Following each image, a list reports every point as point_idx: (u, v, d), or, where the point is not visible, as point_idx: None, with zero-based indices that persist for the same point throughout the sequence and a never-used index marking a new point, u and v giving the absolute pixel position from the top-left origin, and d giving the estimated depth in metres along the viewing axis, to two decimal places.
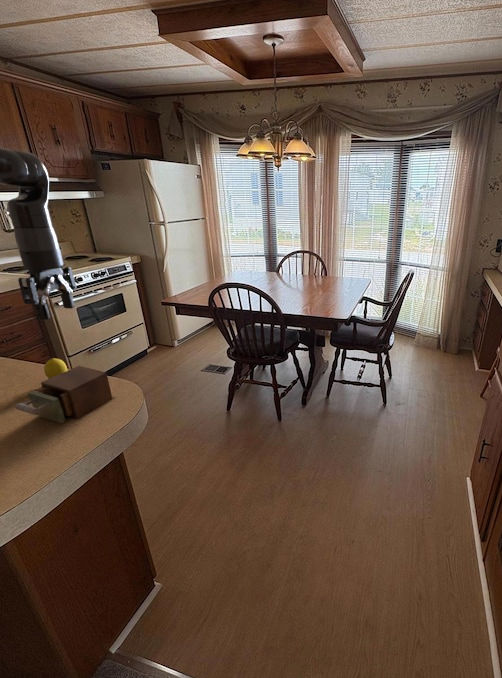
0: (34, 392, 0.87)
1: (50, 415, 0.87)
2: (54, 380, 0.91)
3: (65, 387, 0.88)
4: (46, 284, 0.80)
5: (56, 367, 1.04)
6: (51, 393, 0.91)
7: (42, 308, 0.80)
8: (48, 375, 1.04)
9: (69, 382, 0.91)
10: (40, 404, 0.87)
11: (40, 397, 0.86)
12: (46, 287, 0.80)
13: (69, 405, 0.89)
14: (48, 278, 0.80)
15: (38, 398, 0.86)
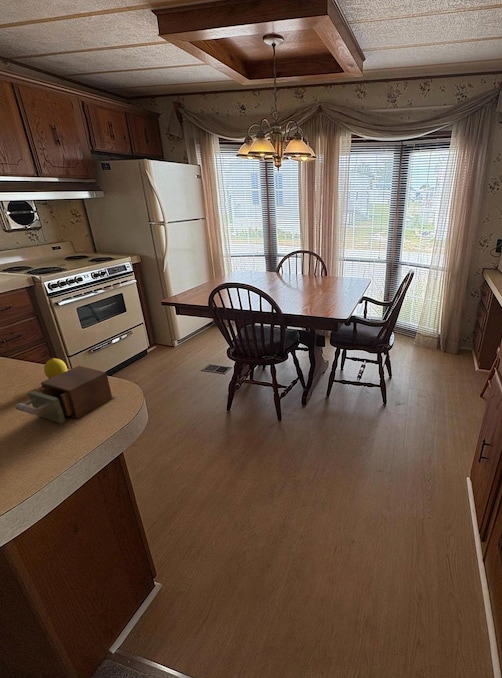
0: (34, 392, 0.87)
1: (50, 415, 0.87)
2: (54, 380, 0.91)
3: (65, 387, 0.88)
4: None
5: (56, 367, 1.04)
6: (51, 393, 0.91)
7: None
8: (48, 375, 1.04)
9: (69, 382, 0.91)
10: (40, 404, 0.87)
11: (40, 397, 0.86)
12: None
13: (69, 405, 0.89)
14: None
15: (38, 398, 0.86)
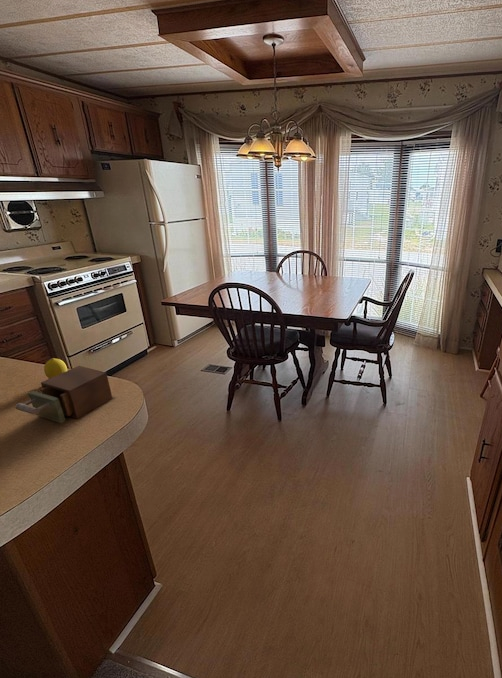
0: (34, 392, 0.87)
1: (50, 415, 0.87)
2: (54, 380, 0.91)
3: (65, 387, 0.88)
4: None
5: (56, 367, 1.04)
6: (51, 393, 0.91)
7: None
8: (48, 375, 1.04)
9: (69, 382, 0.91)
10: (40, 404, 0.87)
11: (40, 397, 0.86)
12: None
13: (69, 405, 0.89)
14: None
15: (38, 398, 0.86)
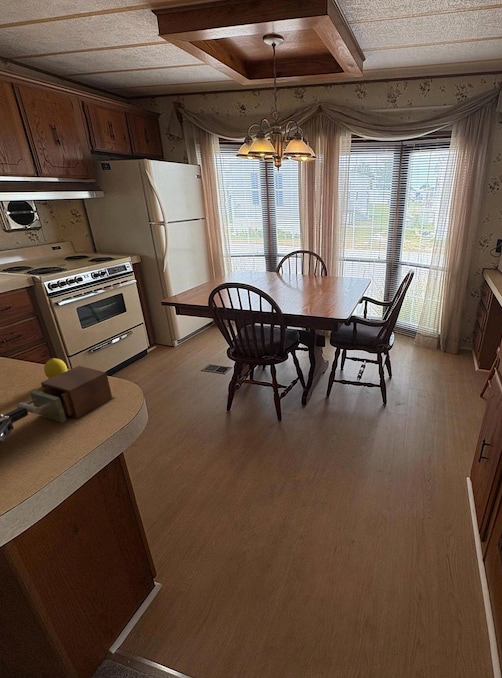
0: (35, 391, 0.88)
1: (51, 414, 0.88)
2: (54, 380, 0.91)
3: (65, 387, 0.88)
4: None
5: (56, 367, 1.04)
6: (52, 392, 0.92)
7: (13, 415, 0.80)
8: (48, 375, 1.04)
9: (69, 382, 0.91)
10: (41, 403, 0.87)
11: (41, 396, 0.86)
12: None
13: (70, 404, 0.89)
14: None
15: (39, 398, 0.87)
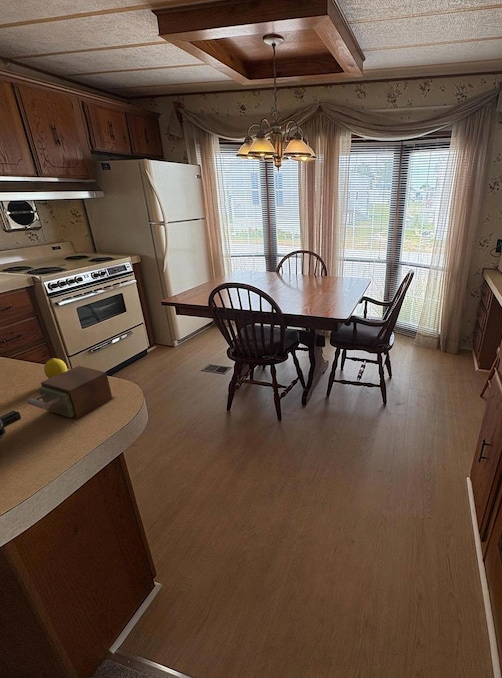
0: (44, 387, 0.90)
1: (59, 409, 0.90)
2: (54, 380, 0.91)
3: (65, 387, 0.88)
4: None
5: (56, 367, 1.04)
6: None
7: (6, 419, 0.78)
8: (48, 375, 1.04)
9: (69, 382, 0.91)
10: (50, 399, 0.89)
11: (50, 392, 0.88)
12: None
13: None
14: None
15: (48, 393, 0.89)
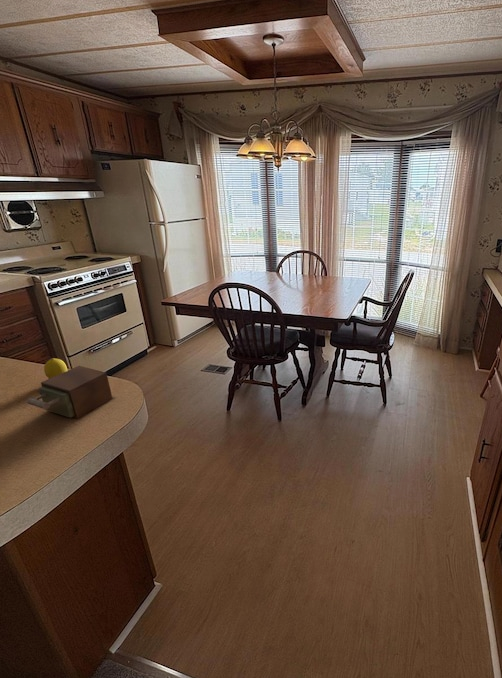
0: (44, 387, 0.90)
1: (59, 409, 0.90)
2: (54, 380, 0.91)
3: (65, 387, 0.88)
4: None
5: (56, 367, 1.04)
6: None
7: None
8: (48, 375, 1.04)
9: (69, 382, 0.91)
10: (50, 399, 0.89)
11: (50, 392, 0.88)
12: None
13: None
14: None
15: (48, 393, 0.89)
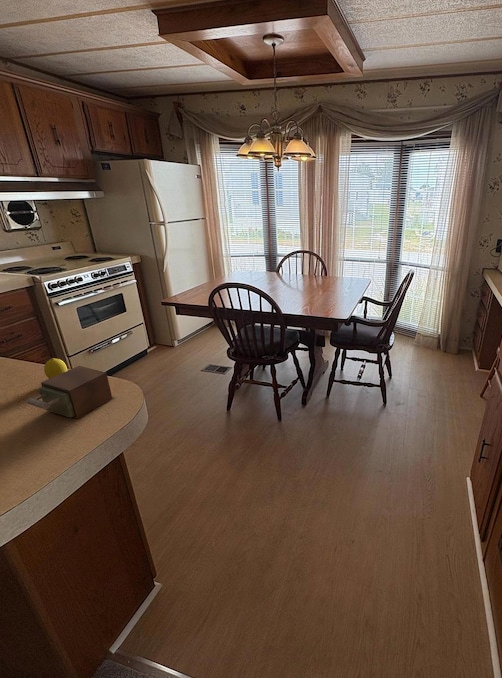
0: (44, 387, 0.90)
1: (59, 409, 0.90)
2: (54, 380, 0.91)
3: (65, 387, 0.88)
4: None
5: (56, 367, 1.04)
6: None
7: None
8: (48, 375, 1.04)
9: (69, 382, 0.91)
10: (50, 399, 0.89)
11: (50, 392, 0.88)
12: None
13: None
14: None
15: (48, 393, 0.89)
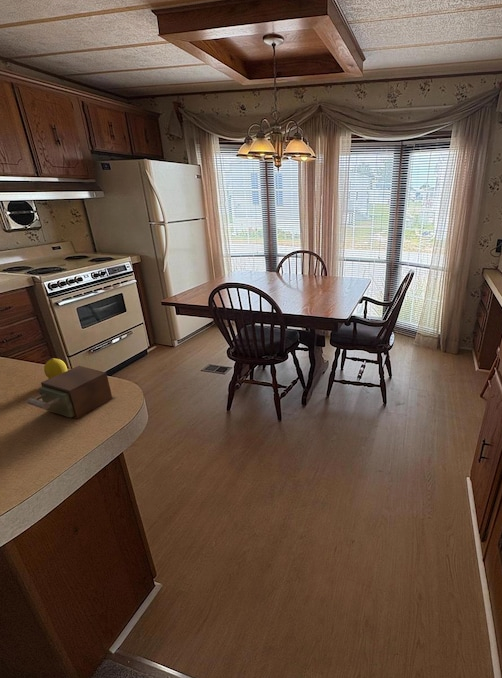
0: (44, 387, 0.90)
1: (59, 409, 0.90)
2: (54, 380, 0.91)
3: (65, 387, 0.88)
4: None
5: (56, 367, 1.04)
6: None
7: None
8: (48, 375, 1.04)
9: (69, 382, 0.91)
10: (50, 399, 0.89)
11: (50, 392, 0.88)
12: None
13: None
14: None
15: (48, 393, 0.89)
